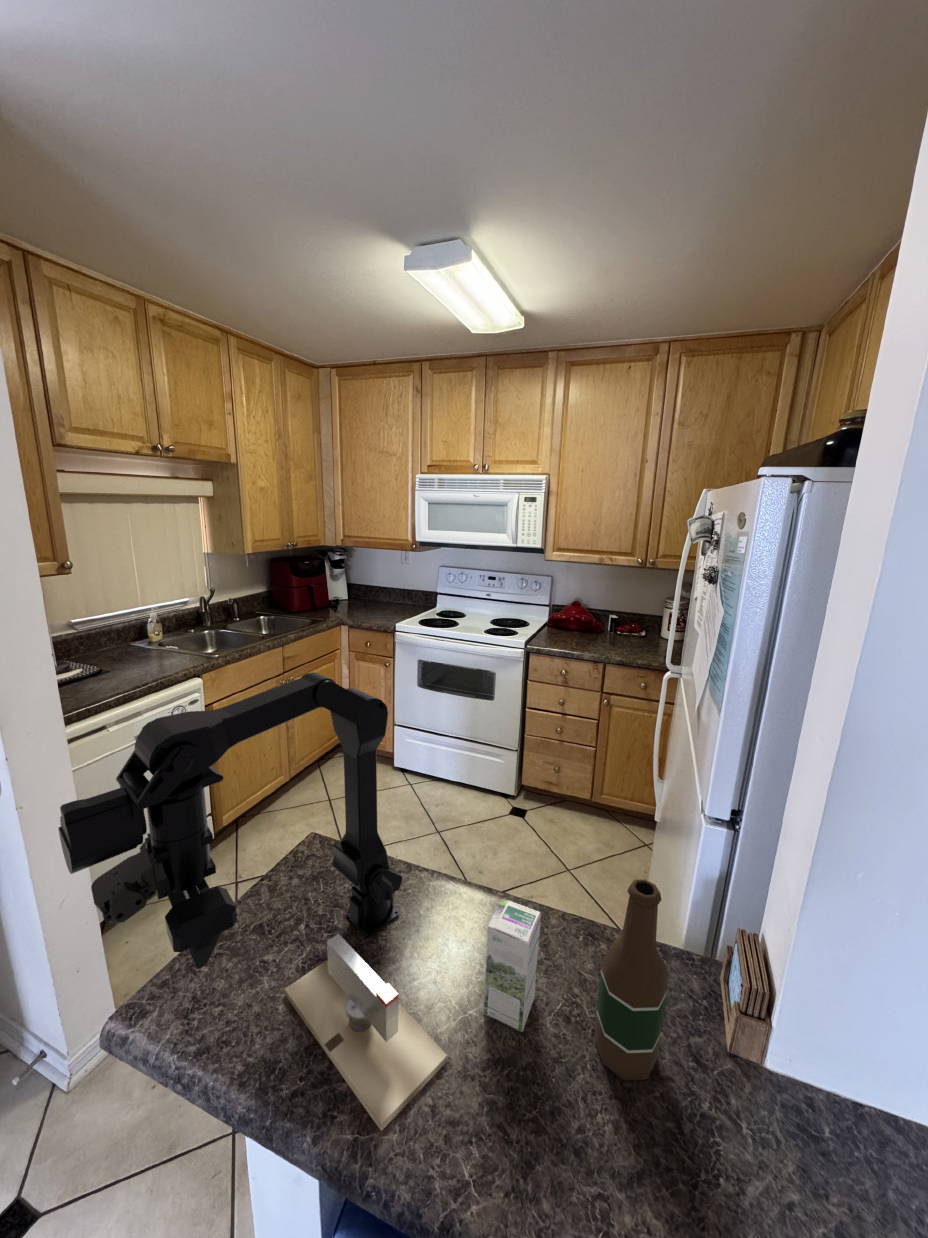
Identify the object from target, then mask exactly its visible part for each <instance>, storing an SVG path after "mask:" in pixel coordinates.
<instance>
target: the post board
mask: <svg viewBox="0 0 928 1238" xmlns="http://www.w3.org/2000/svg"><path fill="white" fill-rule="evenodd" d="M284 996H285V998H286V999H287V1000H288V1002H289V1003H290V1004H291V1006H292V1007H293V1008H294V1009H295V1011H296V1013H297V1015H299V1017H300V1019H301V1020H302V1021H303V1022H304V1024H305V1026H306V1027H307V1029H309V1031H310V1032H311V1034H312V1035H313V1037H314V1038H315V1040H316V1041H317V1043H318V1044H319V1045H320V1046H321V1048H322V1050H323V1051H324V1052H325V1054H326V1055H327V1057H328V1058H329V1060H330V1061H331V1062H332V1064H333V1065H334V1066H335V1069H337V1071H338V1072H339V1074H340V1076H341V1077H342V1078H343V1080H344V1081H345V1082H346V1084H347V1085H348V1086H349V1088H350V1089H351V1091H352V1092H353V1094H354V1095H355V1096H356V1098H357V1099H358V1101H359V1102H360V1104H361V1105H362V1106H363V1108H364V1109H365V1110H366V1112H367V1113H368V1115H369V1116H370V1118H371V1119H372V1121H373V1122H374V1123H375V1125H376V1126H377V1128H378V1129H379V1130H380V1132H382V1131H384V1129H385V1128H386V1127H387V1126H388V1125H389V1124H390V1123H391V1122H392V1121H393V1120H394V1119H395V1118H396V1116H398V1114H399V1113H401V1111H402V1110H403V1109H404V1108H405V1107H406V1106H407V1105H408V1104H409V1103H410V1102H411V1101H412V1099H414V1098H415V1096H417V1094H418V1093H419V1092H421V1090H422V1089H423V1088H424V1087H425V1086H426V1084H428V1082H430V1081H431V1079H432V1078H433V1077H435V1076H436V1075H437V1073H438V1072H439V1071H441V1069H442V1068H443V1067H444V1066H445V1065H446V1064H447V1062H448V1054H447V1053H446V1052H445V1051H444V1050H443V1049H442V1048H441V1047H440V1045H438V1043H436V1041H435V1040H434V1039H433V1038H432V1037H431V1036H430V1034H428V1033H427V1032H426V1030H424V1028H423V1027H422V1026H421V1025H420V1024H419V1023H418V1022H417V1021H416V1019H415V1018H414V1017H413V1016H412V1015H411V1014H410V1013H409V1012H408V1011H407V1010H406V1009H405V1008H404V1006H402V1005H401V1003H400V1002H399V1001H398V1032H397V1033H396V1034H395V1035H394V1036H393V1037H392V1038H391V1039H389V1040H388V1041H387V1042H386V1041H385V1040H384V1039H383V1038H382V1037H381V1035H380V1034H379V1033H378V1032H377V1031H376V1029H375V1028H374V1027H373V1026H372V1025H371V1023H370V1022H369V1021H368V1020H365V1021H361V1022H355V1021H352V1020H350V1019H349V1018H348V1017H347V1015H346V1012H345V1000H346V997H347V995H346V993H345V992H344V991H343V990H342V988H341V987H340V986H339V985H338V984H337V982H336V981H335V980H334V979H333V978H332V976H331V975H330V974H329V973H328V959H327V960H324V961H323V962H322V963H320V964H319V965H318V966H316V967H314V968H313V969H312V970H310V971H308V972H307V973H306V974H305V975H303V976H302V977H300V978H298V979H297V980H296V981H294V982H293V983H291V984H290V985H288V986H287V987H286V988H284Z"/></svg>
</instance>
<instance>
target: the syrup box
mask: <svg viewBox="0 0 928 1238" xmlns="http://www.w3.org/2000/svg"><path fill="white" fill-rule="evenodd" d="M541 914H542V913H541V911H538V910H535V909H532V908H530V907H527V906H525V905H523V904H519V903H517V902H514V901H511V900H508V899H506V898H501V900H500V901H499V904H498V905H497V907H496V909H495V911H494V913H493V914H492V917H491V918H490V922H489V923H488V925H487V935H486V936H487V939H486V940H487V941H486V961H485V962H486V963H485V979H484V996H483V997H484V1003H483V1015H485V1016H487V1017H488V1018H490V1019H493V1020H495V1021H497V1022H499V1023H502V1024H503V1025H505V1026H507V1027H509V1028H511V1029H513V1030H516V1031H517V1032H519V1033H523V1032H524V1029H525V1026H526V1023H527V1020H528V1017H529V1014H530V1011H531V1009H532V1005H533V1003H534V1000H535V995H536V976H537V965H538V964H537V962H538V954H539V953H538V951H539V941H540V932H541V931H540V930H541V919H542V915H541Z"/></svg>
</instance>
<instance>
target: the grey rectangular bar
mask: <svg viewBox="0 0 928 1238" xmlns="http://www.w3.org/2000/svg"><path fill="white" fill-rule="evenodd" d="M326 945H327V946H326V948H327V949H326V950H327V951H326V953H327V954H326V955H327V960H328V973H329V974H330V975H331V976H332V978H333V979H334V980H335V981H336V982H337V984H338V985H339V986H340V987H341V988H342V990H343V991H344V992H345V993H346V995H347V997H346V1000H345V1012H346V1015H347V1017H348V1018H349V1019H350V1020H352V1021H355V1022H361V1021H365V1020H368V1021H369V1022H370V1023H371V1025H372V1026H373V1027H374V1028H375V1029H376V1031H377V1032H378V1033H379V1034H380V1035H381V1037H382V1038H383V1039H384V1040H385V1041H386V1042H387V1041H388V1040H389V1039H391V1038H392V1037H393V1036H394V1035H395V1034H396V1033H397V1032H398V1002H399V993H398V992H397V990H396V989H395V988H394V987H393V986H392V985H391V984H390V983H389V982H387V983H385V981H383V979H381V977H380V976H379V975H378V974H377V973H376V972H375V971H374V970H373V969H372V968H371V966H369V964H368V963H367V962H365V960H364V959H363V957H361V956H360V955H359V954H358V953H357V952H356V951H355V949H354V948H353V947H352V946H351V945H350V944H349V943H348V942H347V940H345V939H344V938H343V936H342V935H341V934H340V933H337V934H336V935H334V936H333V937H331V938H330V939H328V940H327V941H326Z"/></svg>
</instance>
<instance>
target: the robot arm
mask: <svg viewBox="0 0 928 1238" xmlns="http://www.w3.org/2000/svg"><path fill="white" fill-rule="evenodd" d="M320 708H324V709H326V710H328V711H329V712H330V717H331V721H332V726H333V731H334V732H335V735H336V737H337V739H338V742H339V743H340V745H341V748H342V750H343V775H344V808H345V809H344V810H345V813H344V814H345V833H344V834H343V836H342V838H341V840H340V841H338V842H336V843H334V844H332V852H333V860H332V864H331V866H332V867H333V868H335V869H336V870H337V872H338V873H339V874H340V875H341V876H342V877H343V878H344V879H346V881H348V882H349V883H350V884H352V886H351V890H350V891H351V896H350V897H349V901H348V902H349V907H348V908H349V909H348V910H346V912H345V915H346V917H347V918H348V919H349V921H350V922H351V923H352V924H353V925H354V926H355V927H356V928H357V929H359V930H360V931H361V932H362V933H363V934H364V936H366V937H371V936H373V935H374V934H376V933H377V932H378V931H379V930H381V929H383V928H384V927H385V926H386V925H388V924H389V923H391V922H392V921H394V920H396V918H398V917H399V916H400V911H399V910H398V909H397V908H396V907H394V895H395V893H396V892H397V891H399V890H400V889H401V885H402V881H403V879H404V878H403V876H402V875H401V874H400V873H399V872H398V871H396V870H395V869H394V868H392V867H391V866H390V861H389V857H388V853H387V849H386V846H385V845H384V842H383V841H382V838H381V836H380V834H379V831H378V776H377V775H378V774H377V773H378V771H377V770H378V769H377V768H378V767H377V766H378V765H377V764H378V763H377V761H378V760H377V757H378V756H377V752H378V751H377V750H378V748H379V746H380V745H381V743H382V741H383V740H384V738H385V736H386V732H387V726H388V717H389V709H388V706H387V704H386V703H385V702H384V701H383V700H381V699H380V698H379V697H375V696H374V695H371V694H368V693H366V692H364V691H361V690H359V689H357V688H354V687H350V688H345V687H343V686H342V685H340V684H337V683H336V681H335V680H333V679H332V678H330V677H327V676H325V675H322V674H321V673H318V672H315V671H314V672H307V673H305V674H303V675H302V676H301V677H299V678H297V679H294V680H291V681H289V682H287V683H283V684H281V685H279V686H275V687H274V688H271V689H268V690H265V691H263V692H260V693H258V694H255V695H252V696H249V697H246V698H244V699H242V700H239V701H236V702H234V703H231V704H228V705H225V706H223V707H220V708H215V709H211V710H195V711H192V710H190V711H185V712H180V713H175V714H171V715H166V716H161V717H157V718H154V719H153V720H151V721H149V722H147V723H146V724H145V725H144V726H142V728H141V730H140V731H139V734H137V736H136V740H135V743H134V750H133V752H132V753H131V754H130V756H129V758H128V760H126V763H125V764H124V766H123V767H122V768H121V770H120V771H119V773H118V775H117V776H116V778H115V780H116V782H117V783H118V785H119V788H116V789H113V790H110V791H106V792H104V793H100V794H97V795H95V796H91V797H88V798H82V799H77V800H72V801H70V802H66V803H64V804H61V806H60V807H59V809H60V817H59V821H60V826H59V827H58V834H59V840H60V844H61V849H62V854H63V857H64V860H65V865H66V867H67V870H68V872H69V873H70V875H73V874H76V873H77V872H80V871H82V870H86V869H88V868H89V867H92V866H95V865H98V864H100V863H102V862H105V861H107V860H109V859H112V858H114V857H118V856H119V855H122V854H125V853H127V852H130V851H132V850H134V849H137V848H138V846H139V852H137V853H136V854H133V855H130V856H129V857H127V858H126V859H125V858H124V860H122V861H120V862H119V863H118V864H116V865H114V866H113V867H112V868H110V869H109V870H107V871H105V872H104V873H102V874H101V875H100V876H98V877H97V878H96V879H95V880H94V881H93V882H92V884H91V886H90V889H91V894H92V898H93V903H94V905H95V907H96V908H97V909H98V911H100V912H101V914H102V919H103V921H104V922H105V923H110V924H116V923H117V924H119V923H125V922H127V921H128V920H129V919H131V918H132V917H133V916H135V915H136V914H137V913H139V912H140V911H142V910H143V909H144V908H145V907H146V905H147V900H149V899H150V898H152V897H153V895H154V894H155V892H156V897H157V899H158V900H162V899H164V898H166V897H167V898H168V900H169V903H170V905H171V908H170V909H169V910H168V912H167V913H166V915H165V916H164V922H165V927H166V933H167V937H168V939H169V943H170V945H171V949H172V951H173V952H174V953H183V952H186V951H188V952H189V955H190V956H191V958H192V961H193V964H194V966H195V969H196V970H199V969H202V968H203V967H205V966H206V965H208V963H209V961H210V959H211V956H212V955H213V952H214V951H215V948H216V946H217V944H218V942H219V940H220V938H221V936H222V934H223V933H224V932H225V931H228V930H229V929H231V928H233V927H234V926H235V925H236V924H237V922H238V913H237V906H236V904H235V902H234V901H233V899H232V896H231V895H230V893H229V891H228V889H227V888H224V887H221V886H218V885H217V886H214V887H211V888H210V886H209V885H208V882H207V881H206V879H205V878H207V877H210V876H212V875H215V874H217V868H216V864H215V861H214V860H213V858H212V857H211V850H210V849H211V847H210V844H212V843H214V834H213V833H212V831H211V829H210V827H209V826H208V817H207V807H206V806H207V805H206V795H205V793H206V792H205V788H207V787H209V786H213V785H215V784H218V783H220V782H222V781H223V780H224V776H223V775H222V773H221V772H219V771H218V770H217V769H216V768H215V767H213V766H214V765H216V763H217V762H219V760H220V759H221V758H222V757H223V756H224V755H225V754H226V753H227V752H228V751H229V750H230V749H231V748H233V747H234V746H236V745H237V744H239V743H242V742H243V741H246V740H249V739H251V738H253V737H256V736H257V735H260V734H262V733H264V732H267V731H269V730H271V729H274V728H276V727H279V726H281V725H284V724H286V723H288V722H291V721H292V720H294V719H297V718H299V717H302V716H304V715H306V714H308V713H311V712H314V711H315V710H317V709H320ZM148 771H149V773H150V774H151V775H152V777H151V778H150V780H149V779H148V777H146V775H145V774H146V773H147V772H148ZM144 809H146V810H147V819H148V821H147V820H146V816H145V811H144ZM147 822H148V828H149V829H147ZM147 830H149V833H147ZM144 835H147V837H145V838H144ZM140 845H141V846H140Z"/></svg>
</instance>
